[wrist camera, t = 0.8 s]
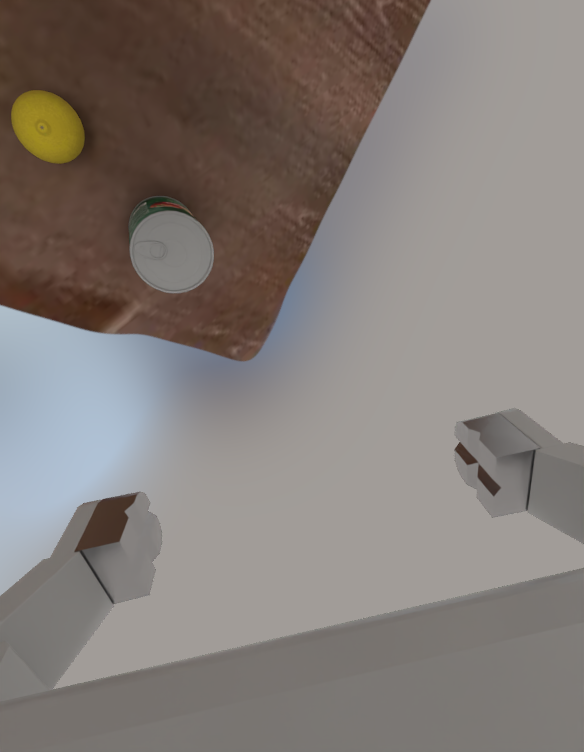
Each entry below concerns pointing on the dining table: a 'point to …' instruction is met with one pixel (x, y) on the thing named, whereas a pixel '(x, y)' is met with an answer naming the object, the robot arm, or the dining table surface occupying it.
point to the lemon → (47, 126)
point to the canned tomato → (169, 245)
